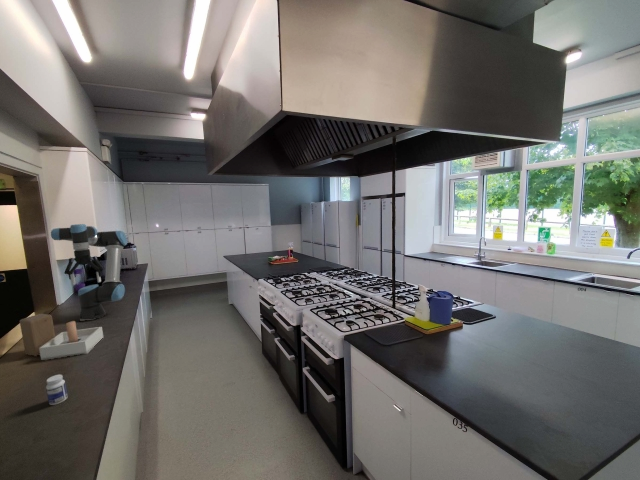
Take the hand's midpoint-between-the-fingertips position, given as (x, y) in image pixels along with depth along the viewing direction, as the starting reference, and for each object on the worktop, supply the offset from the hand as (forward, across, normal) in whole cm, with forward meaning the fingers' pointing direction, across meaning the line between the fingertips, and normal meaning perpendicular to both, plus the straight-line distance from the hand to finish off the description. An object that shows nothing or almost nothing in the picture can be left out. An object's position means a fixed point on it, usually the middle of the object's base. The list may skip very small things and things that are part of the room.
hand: (86, 283), depth 179 cm
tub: (+32, 0, -23) cm, 39 cm away
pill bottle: (+32, +18, -75) cm, 83 cm away
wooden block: (+32, -17, -20) cm, 41 cm away
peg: (+30, 0, -23) cm, 38 cm away
